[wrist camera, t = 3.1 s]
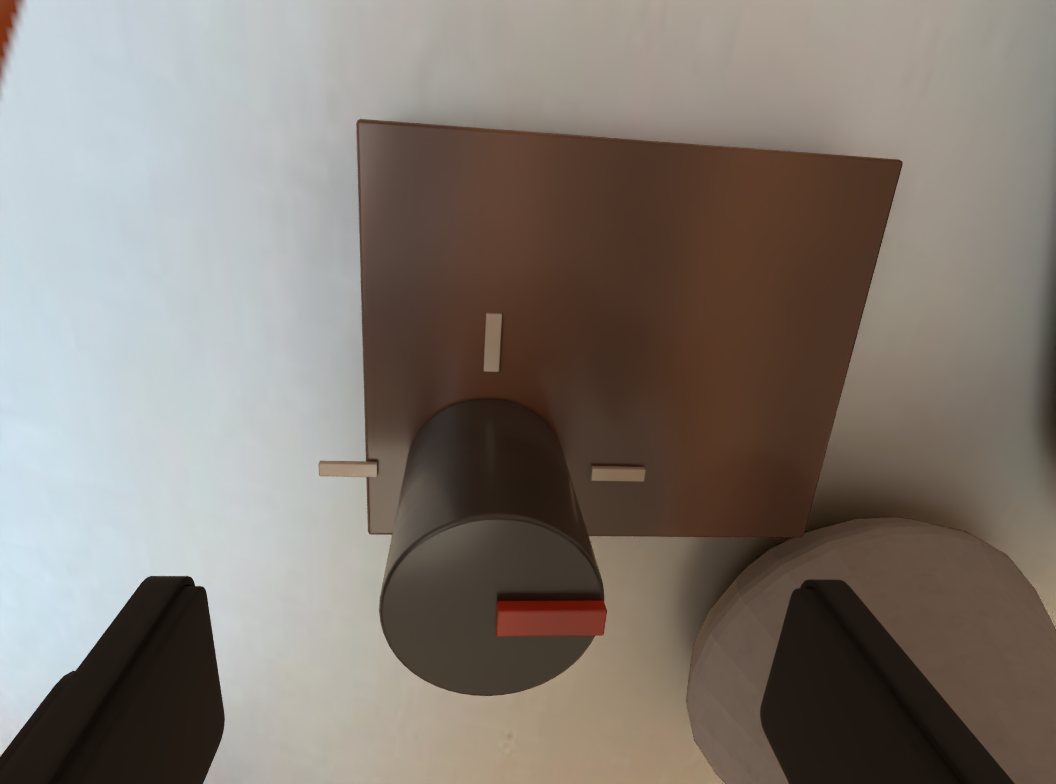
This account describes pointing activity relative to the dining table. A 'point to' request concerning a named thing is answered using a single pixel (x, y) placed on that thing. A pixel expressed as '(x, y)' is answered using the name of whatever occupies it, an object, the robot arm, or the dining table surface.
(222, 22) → the dining table surface
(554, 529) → the knob
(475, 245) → the panel
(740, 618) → the coffee pot
